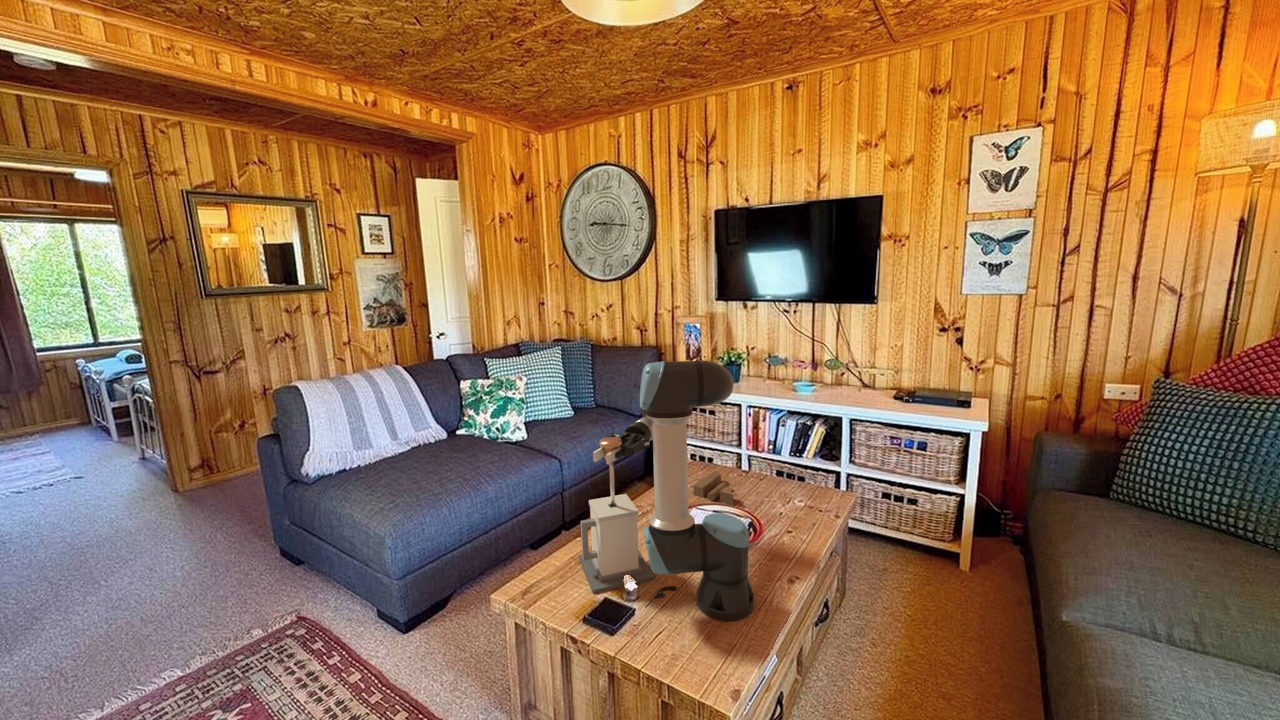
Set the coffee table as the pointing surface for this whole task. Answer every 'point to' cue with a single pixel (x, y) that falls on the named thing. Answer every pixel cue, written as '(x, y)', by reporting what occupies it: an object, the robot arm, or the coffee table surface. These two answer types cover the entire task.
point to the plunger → (609, 446)
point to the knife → (662, 595)
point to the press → (612, 538)
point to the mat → (614, 583)
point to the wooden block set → (707, 488)
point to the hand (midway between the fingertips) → (600, 458)
